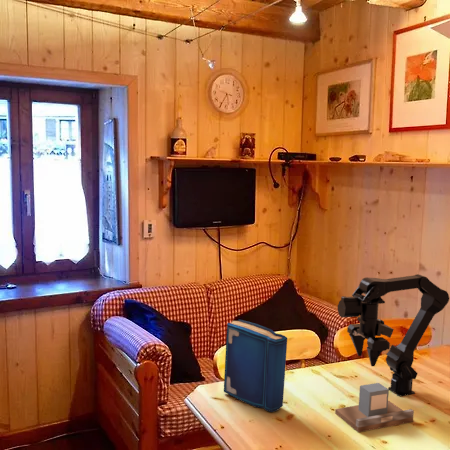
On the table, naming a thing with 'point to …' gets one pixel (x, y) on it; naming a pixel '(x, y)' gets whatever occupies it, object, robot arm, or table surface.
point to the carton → (373, 399)
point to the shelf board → (374, 417)
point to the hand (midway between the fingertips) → (366, 360)
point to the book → (255, 365)
